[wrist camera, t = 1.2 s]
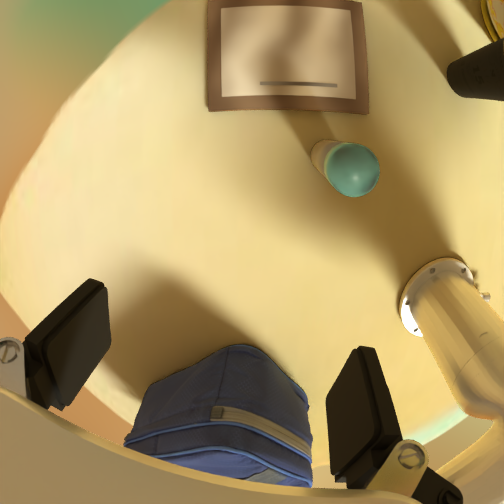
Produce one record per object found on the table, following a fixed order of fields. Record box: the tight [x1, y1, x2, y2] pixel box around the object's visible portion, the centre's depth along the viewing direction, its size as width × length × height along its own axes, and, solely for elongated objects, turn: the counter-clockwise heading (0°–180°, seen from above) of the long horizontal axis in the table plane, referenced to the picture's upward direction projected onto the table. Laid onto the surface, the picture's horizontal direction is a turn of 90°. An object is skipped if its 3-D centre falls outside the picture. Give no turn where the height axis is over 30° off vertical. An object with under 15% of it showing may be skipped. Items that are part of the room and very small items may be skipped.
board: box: [208, 0, 369, 115], centre depth 26 cm, size 17×14×2 cm
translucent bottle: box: [311, 140, 380, 197], centre depth 25 cm, size 4×4×13 cm
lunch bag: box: [123, 345, 313, 488], centre depth 38 cm, size 31×21×20 cm
